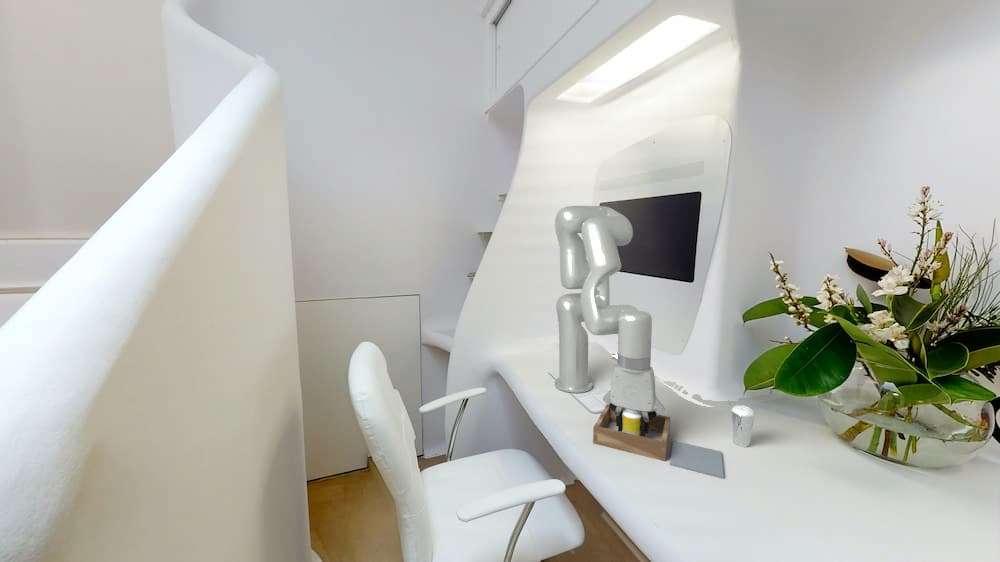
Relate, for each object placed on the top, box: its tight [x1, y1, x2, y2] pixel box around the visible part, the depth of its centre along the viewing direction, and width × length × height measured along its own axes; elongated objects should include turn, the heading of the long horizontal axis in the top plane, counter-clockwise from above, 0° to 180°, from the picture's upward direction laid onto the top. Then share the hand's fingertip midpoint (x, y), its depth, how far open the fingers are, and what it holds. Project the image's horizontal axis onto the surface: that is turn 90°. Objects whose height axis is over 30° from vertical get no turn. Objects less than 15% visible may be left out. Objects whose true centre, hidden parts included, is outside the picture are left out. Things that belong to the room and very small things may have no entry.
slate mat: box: [669, 440, 725, 479], centre depth 81 cm, size 10×10×1 cm
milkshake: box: [727, 399, 755, 448], centre depth 87 cm, size 5×5×10 cm
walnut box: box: [592, 404, 671, 462], centre depth 90 cm, size 14×16×4 cm
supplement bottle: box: [621, 408, 643, 436], centre depth 90 cm, size 5×5×8 cm
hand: (631, 431), depth 91 cm, fingers closed on supplement bottle, 4 cm apart
